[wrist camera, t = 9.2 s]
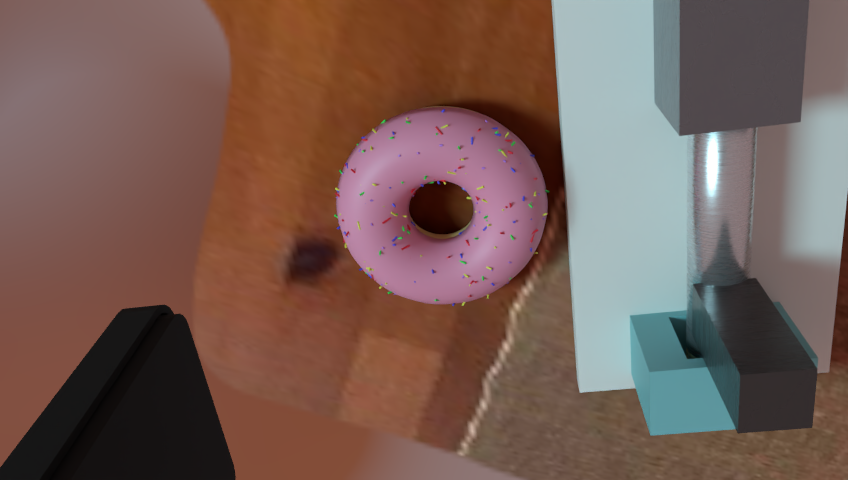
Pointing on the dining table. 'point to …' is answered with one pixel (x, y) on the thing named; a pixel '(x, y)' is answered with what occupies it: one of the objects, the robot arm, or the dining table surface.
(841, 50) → the base board
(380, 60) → the dining table surface
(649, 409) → the socket
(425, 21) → the dining table surface
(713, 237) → the silver bolt with handle
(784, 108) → the sleeve
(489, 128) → the doughnut
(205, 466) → the robot arm
